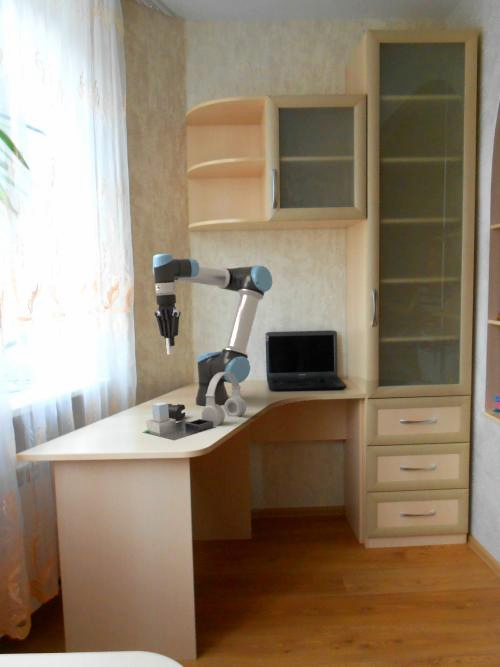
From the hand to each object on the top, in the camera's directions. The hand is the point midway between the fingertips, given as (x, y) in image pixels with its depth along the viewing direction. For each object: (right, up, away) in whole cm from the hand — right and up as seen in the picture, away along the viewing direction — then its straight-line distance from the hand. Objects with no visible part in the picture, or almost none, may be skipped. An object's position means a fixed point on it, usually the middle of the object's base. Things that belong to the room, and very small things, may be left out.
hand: (170, 354), depth 203 cm
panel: (+6, -28, -16) cm, 33 cm away
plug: (-1, -27, -17) cm, 32 cm away
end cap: (0, -27, +1) cm, 27 cm away
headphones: (+22, -26, -3) cm, 34 cm away
